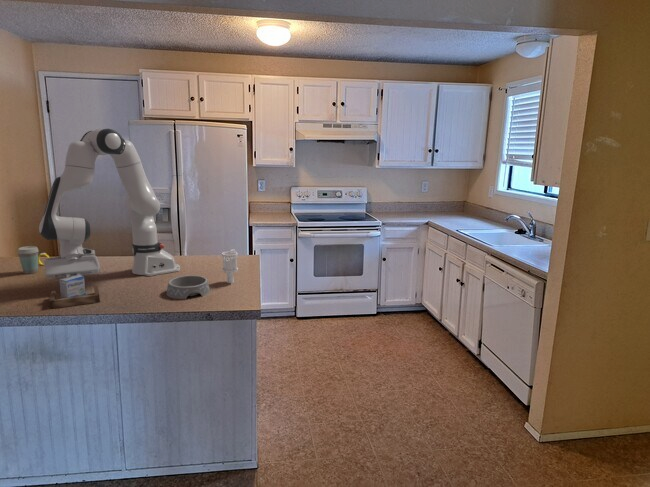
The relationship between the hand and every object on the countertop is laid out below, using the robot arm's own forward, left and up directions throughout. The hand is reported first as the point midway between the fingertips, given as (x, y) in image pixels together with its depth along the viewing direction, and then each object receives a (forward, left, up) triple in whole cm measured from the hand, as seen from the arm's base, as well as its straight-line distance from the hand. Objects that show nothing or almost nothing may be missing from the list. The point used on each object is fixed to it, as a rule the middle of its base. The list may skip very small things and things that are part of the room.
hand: (74, 284), depth 186 cm
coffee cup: (+19, -42, -5) cm, 47 cm away
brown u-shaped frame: (0, +8, -4) cm, 9 cm away
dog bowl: (-43, +16, -5) cm, 46 cm away
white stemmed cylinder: (-63, +11, -5) cm, 64 cm away
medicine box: (+1, +5, -5) cm, 6 cm away
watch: (+14, -54, -5) cm, 56 cm away
